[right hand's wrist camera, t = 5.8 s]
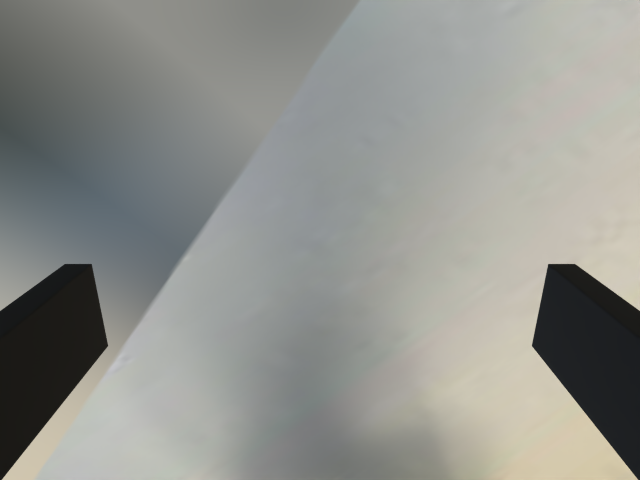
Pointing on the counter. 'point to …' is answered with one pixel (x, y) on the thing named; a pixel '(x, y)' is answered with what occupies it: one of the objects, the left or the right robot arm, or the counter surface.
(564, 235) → the counter surface
